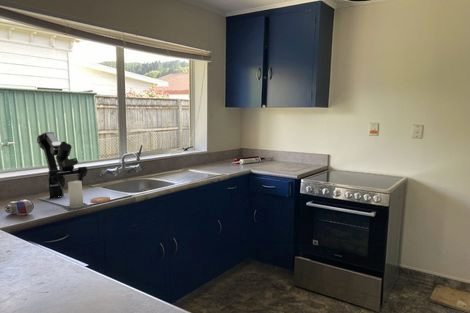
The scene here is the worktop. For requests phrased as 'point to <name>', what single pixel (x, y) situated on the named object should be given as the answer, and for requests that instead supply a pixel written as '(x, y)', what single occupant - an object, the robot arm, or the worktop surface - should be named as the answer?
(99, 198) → the saucer
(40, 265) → the worktop surface
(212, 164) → the worktop surface
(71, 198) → the tumbler
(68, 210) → the rubber mat
